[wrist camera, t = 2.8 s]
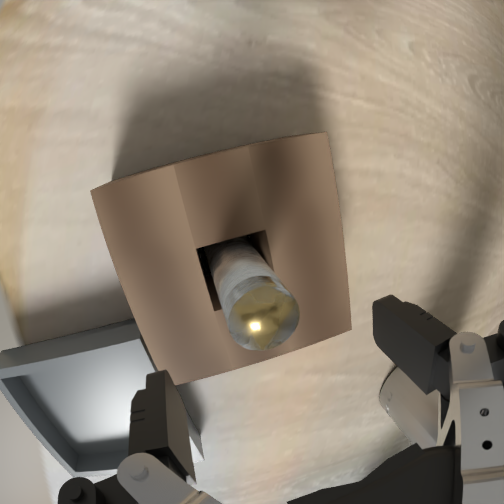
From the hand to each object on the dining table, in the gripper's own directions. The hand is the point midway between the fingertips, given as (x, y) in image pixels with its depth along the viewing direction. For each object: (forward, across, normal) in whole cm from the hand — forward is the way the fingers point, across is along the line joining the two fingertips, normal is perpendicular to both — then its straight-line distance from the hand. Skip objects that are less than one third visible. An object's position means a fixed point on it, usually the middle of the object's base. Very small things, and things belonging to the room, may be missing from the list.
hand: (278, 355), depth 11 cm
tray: (+15, +16, +12) cm, 25 cm away
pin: (+15, 0, 0) cm, 15 cm away
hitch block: (+15, 0, 0) cm, 15 cm away
